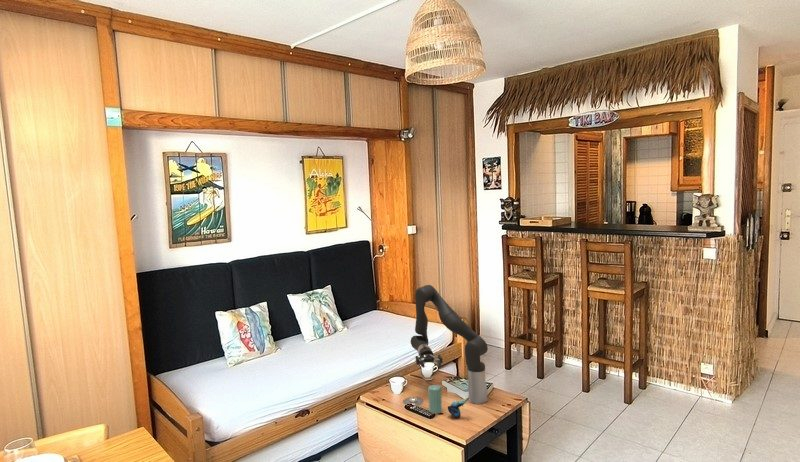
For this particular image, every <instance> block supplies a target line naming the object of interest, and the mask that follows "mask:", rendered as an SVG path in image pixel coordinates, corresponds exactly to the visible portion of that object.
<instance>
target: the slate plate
mask: <svg viewBox="0 0 800 462" xmlns="http://www.w3.org/2000/svg"><path fill="white" fill-rule="evenodd" d="M411 397H412V396H409V397H406V398H404V399H403V401H402V403H403V404H404V405H406V404H412V405H414V406H413V407H417V406H421V405H422V404H424V399H423V398H421V397H418V396H415V397H416V398H417V402H416V403H411V402H410V398H411ZM406 406H407V405H406Z"/></svg>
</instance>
